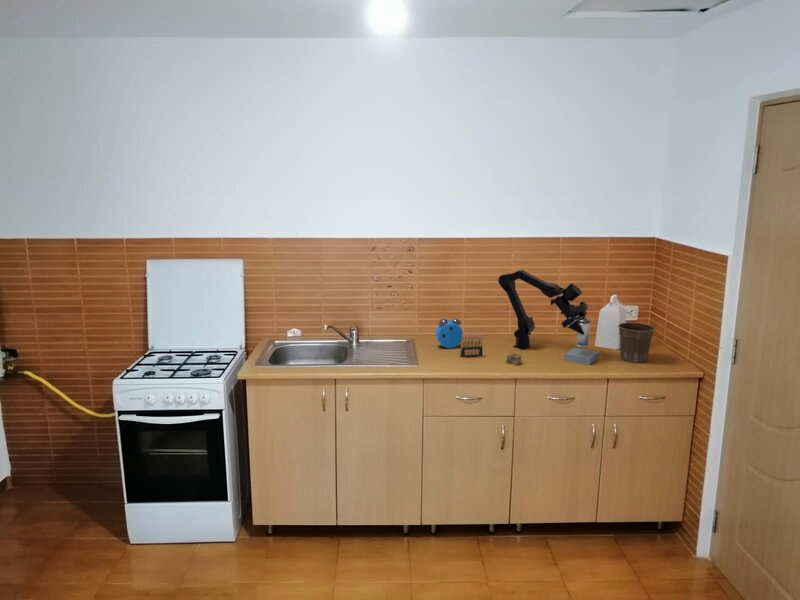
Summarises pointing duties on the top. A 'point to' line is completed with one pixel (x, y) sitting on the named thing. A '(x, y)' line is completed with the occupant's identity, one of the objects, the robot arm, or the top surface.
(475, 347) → the ammunition clip
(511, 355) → the offcut block
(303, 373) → the top surface
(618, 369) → the top surface
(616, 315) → the milk
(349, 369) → the top surface
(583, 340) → the glass shaker
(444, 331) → the alarm clock
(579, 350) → the stand
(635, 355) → the plant pot
